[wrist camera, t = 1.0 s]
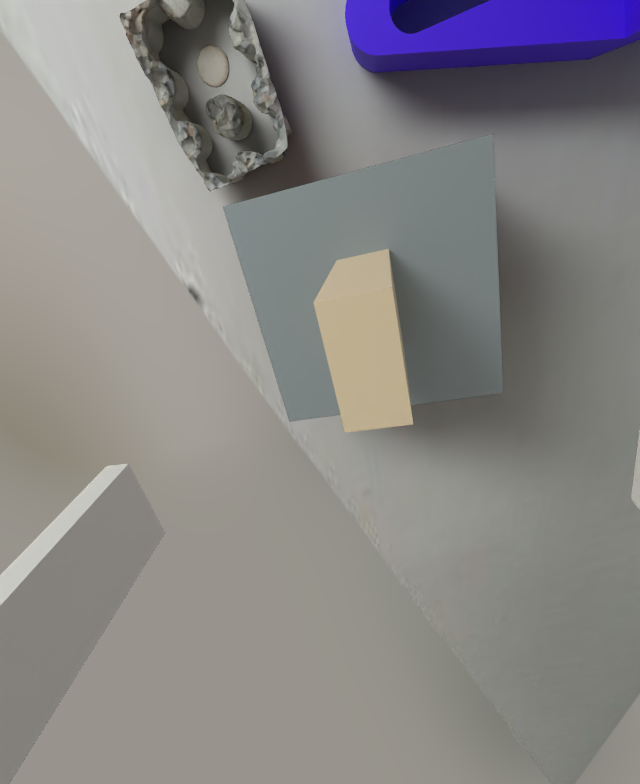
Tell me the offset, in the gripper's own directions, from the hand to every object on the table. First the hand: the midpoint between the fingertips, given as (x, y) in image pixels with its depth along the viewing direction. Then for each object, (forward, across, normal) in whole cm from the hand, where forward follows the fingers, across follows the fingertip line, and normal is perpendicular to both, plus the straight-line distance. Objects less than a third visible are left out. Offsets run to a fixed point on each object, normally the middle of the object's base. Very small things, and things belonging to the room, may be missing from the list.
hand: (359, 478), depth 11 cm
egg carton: (+25, -8, +15) cm, 30 cm away
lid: (+17, 0, 0) cm, 17 cm away
